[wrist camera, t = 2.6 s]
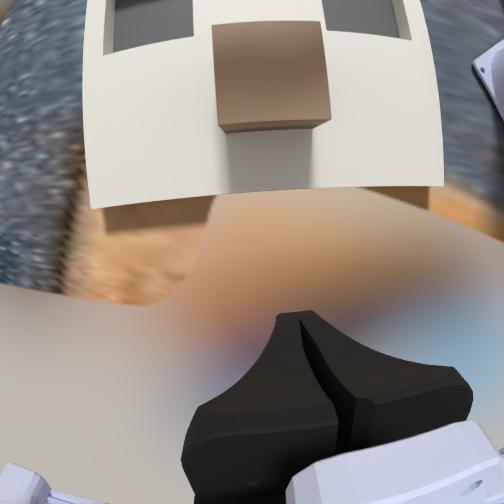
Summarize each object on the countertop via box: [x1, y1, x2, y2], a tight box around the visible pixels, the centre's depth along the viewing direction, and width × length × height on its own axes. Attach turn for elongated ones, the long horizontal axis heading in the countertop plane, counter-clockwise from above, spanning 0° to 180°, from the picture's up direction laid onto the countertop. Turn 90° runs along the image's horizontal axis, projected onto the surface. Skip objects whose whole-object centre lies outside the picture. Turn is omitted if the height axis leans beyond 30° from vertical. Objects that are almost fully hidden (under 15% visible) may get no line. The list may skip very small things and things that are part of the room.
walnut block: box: [211, 21, 332, 134], centre depth 15 cm, size 5×5×4 cm
